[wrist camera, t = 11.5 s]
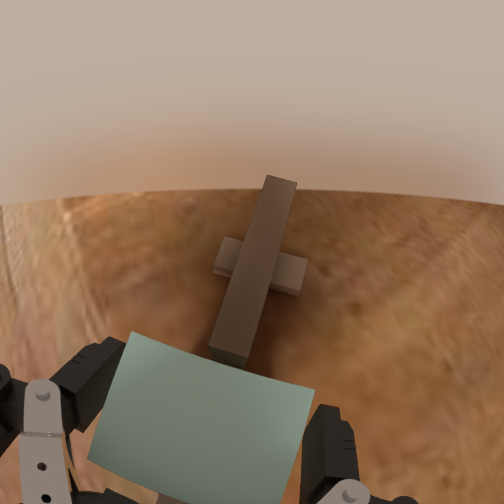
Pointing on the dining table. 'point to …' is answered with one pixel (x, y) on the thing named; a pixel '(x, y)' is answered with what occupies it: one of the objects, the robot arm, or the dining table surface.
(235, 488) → the pale green rectangular block
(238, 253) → the brown notched barrier
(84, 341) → the dining table surface
